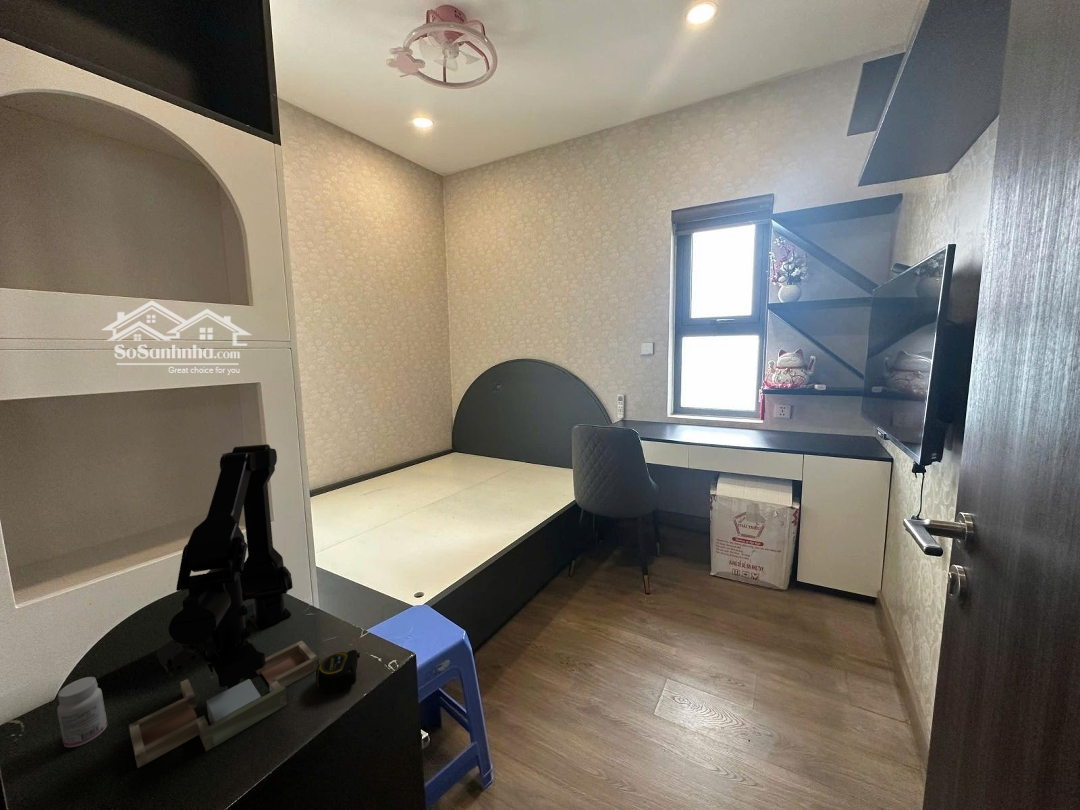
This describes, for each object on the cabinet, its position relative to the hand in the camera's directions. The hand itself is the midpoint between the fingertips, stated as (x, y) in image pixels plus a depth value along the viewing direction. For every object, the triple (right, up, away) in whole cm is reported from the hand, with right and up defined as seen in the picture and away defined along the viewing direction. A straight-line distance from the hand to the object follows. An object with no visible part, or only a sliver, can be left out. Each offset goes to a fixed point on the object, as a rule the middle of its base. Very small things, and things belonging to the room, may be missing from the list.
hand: (232, 689), depth 73 cm
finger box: (+1, -1, 0) cm, 2 cm away
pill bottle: (-18, -3, -7) cm, 20 cm away
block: (+3, -2, -4) cm, 6 cm away
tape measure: (+17, -1, +4) cm, 18 cm away
